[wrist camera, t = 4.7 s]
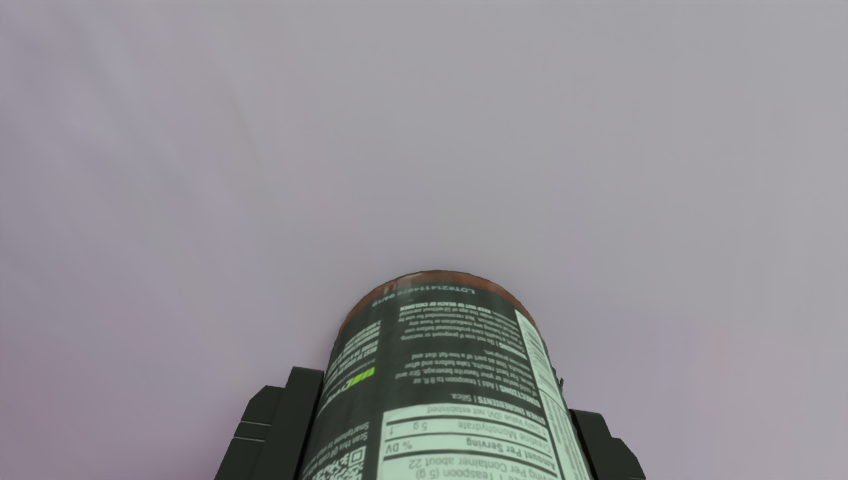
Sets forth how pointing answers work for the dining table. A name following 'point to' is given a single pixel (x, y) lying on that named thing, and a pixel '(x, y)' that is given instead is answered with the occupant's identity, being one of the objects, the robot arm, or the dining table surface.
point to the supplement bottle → (441, 390)
